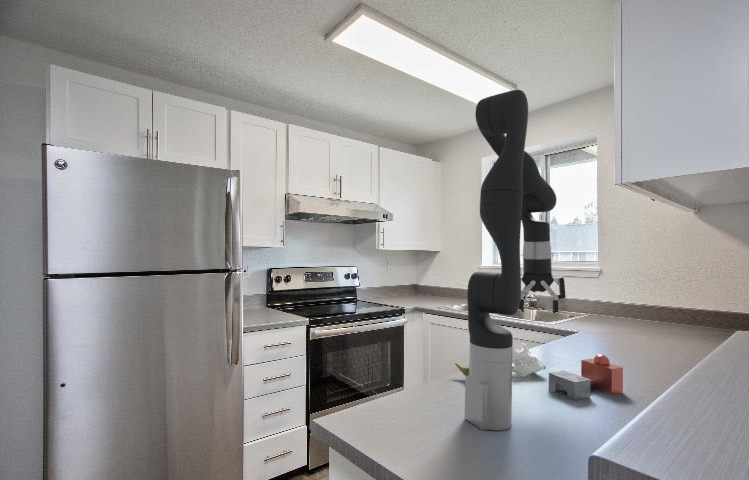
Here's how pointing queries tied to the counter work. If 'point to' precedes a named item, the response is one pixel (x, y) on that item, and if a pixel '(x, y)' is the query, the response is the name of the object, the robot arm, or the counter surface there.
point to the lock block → (570, 385)
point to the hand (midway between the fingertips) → (538, 312)
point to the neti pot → (463, 369)
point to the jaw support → (525, 361)
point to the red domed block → (603, 375)
